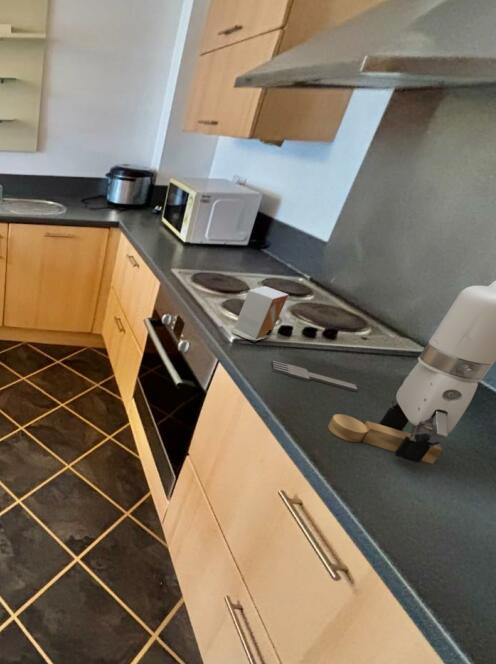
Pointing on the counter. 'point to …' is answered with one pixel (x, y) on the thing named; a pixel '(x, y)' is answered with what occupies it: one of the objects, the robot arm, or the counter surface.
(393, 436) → the wooden spoon
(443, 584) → the counter surface
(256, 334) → the small box
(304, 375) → the serving fork
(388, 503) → the counter surface
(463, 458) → the counter surface
